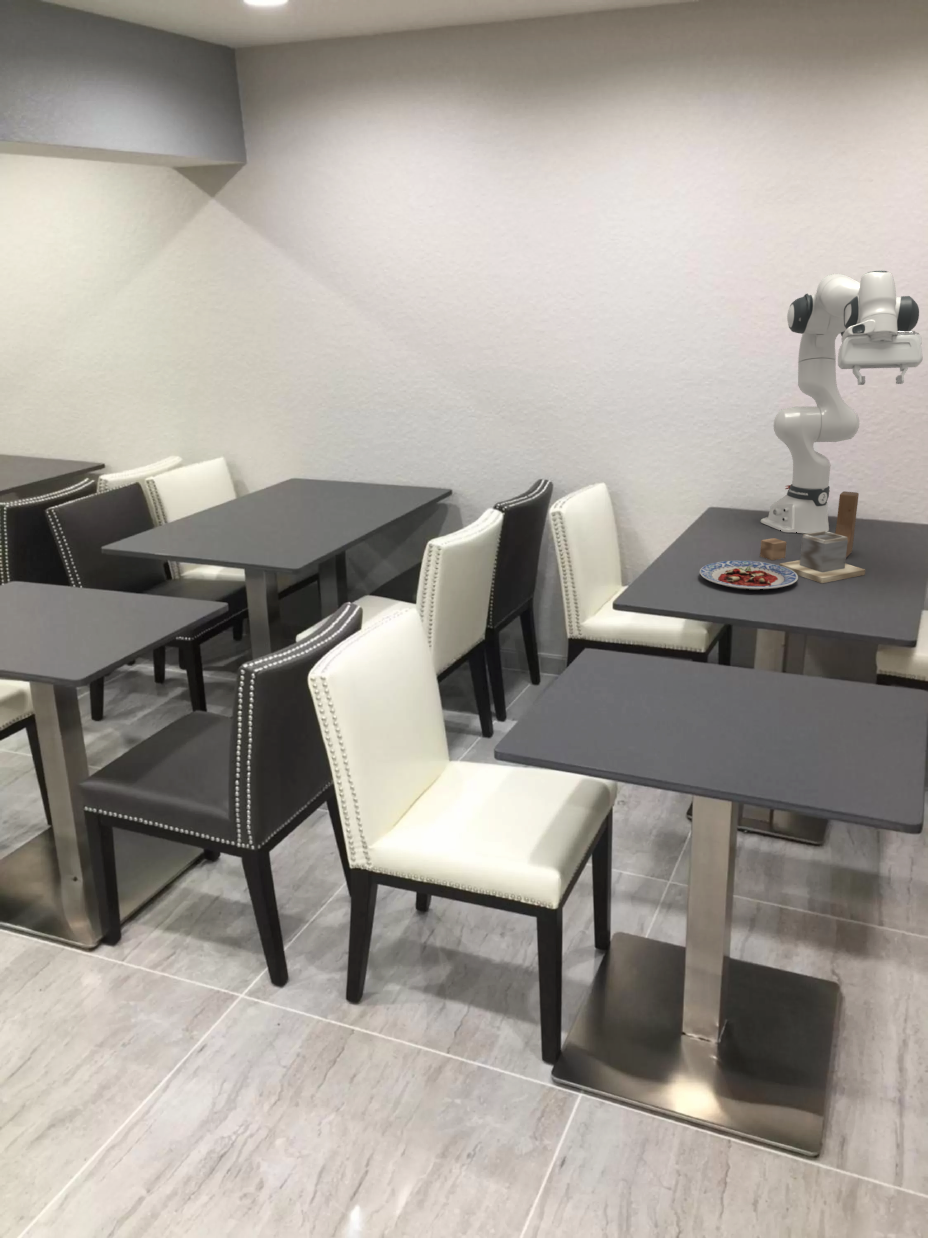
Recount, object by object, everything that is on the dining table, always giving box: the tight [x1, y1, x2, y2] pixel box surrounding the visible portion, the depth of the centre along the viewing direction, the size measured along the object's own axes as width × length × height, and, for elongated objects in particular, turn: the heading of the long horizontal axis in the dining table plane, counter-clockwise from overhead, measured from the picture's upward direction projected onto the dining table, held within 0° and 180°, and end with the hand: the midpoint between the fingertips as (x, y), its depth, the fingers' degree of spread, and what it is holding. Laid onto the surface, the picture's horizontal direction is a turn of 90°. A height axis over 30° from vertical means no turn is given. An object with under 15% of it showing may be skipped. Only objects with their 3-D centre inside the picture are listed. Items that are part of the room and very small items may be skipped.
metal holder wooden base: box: [778, 531, 866, 584], centre depth 279 cm, size 16×16×10 cm
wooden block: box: [834, 490, 860, 559], centre depth 294 cm, size 9×4×18 cm, turn 148°
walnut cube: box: [759, 537, 788, 561], centre depth 295 cm, size 5×5×5 cm
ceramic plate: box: [699, 560, 799, 591], centre depth 274 cm, size 26×26×3 cm
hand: (880, 383), depth 258 cm, fingers open, 8 cm apart
